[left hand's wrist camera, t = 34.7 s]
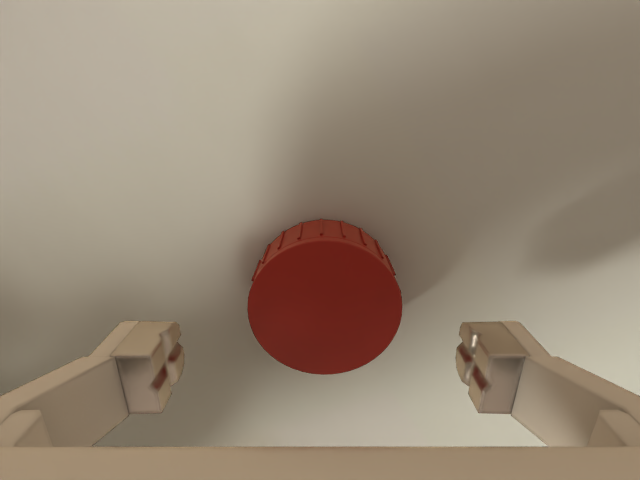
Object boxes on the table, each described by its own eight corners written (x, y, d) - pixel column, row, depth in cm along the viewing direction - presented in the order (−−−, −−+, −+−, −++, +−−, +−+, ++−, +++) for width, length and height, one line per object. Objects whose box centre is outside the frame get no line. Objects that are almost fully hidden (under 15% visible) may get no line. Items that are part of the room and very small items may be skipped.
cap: (341, 189, 11) (346, 205, 9) (416, 297, 12) (432, 329, 11) (228, 267, 12) (212, 296, 10) (309, 359, 13) (307, 398, 12)
